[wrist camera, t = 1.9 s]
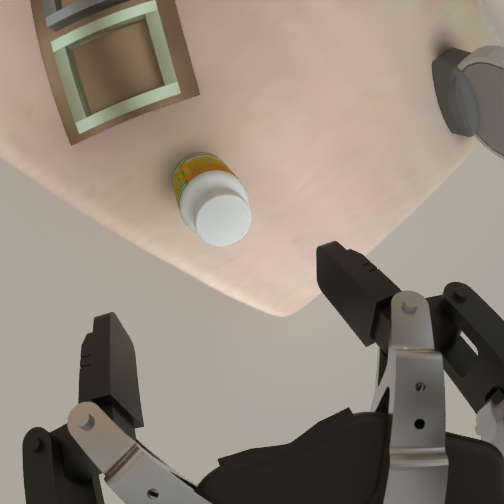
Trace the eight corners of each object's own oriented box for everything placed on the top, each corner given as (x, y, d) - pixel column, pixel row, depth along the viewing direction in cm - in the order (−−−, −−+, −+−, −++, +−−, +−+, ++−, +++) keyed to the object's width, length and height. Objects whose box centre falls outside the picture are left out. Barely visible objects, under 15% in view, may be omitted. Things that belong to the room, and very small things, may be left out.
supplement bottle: (169, 155, 26) (180, 190, 18) (226, 148, 27) (261, 179, 19) (175, 208, 29) (189, 261, 21) (228, 200, 30) (261, 248, 22)
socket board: (152, -75, 12) (154, -93, 9) (197, 94, 24) (205, 95, 21) (30, -28, 10) (17, -39, 7) (74, 143, 22) (64, 151, 19)
